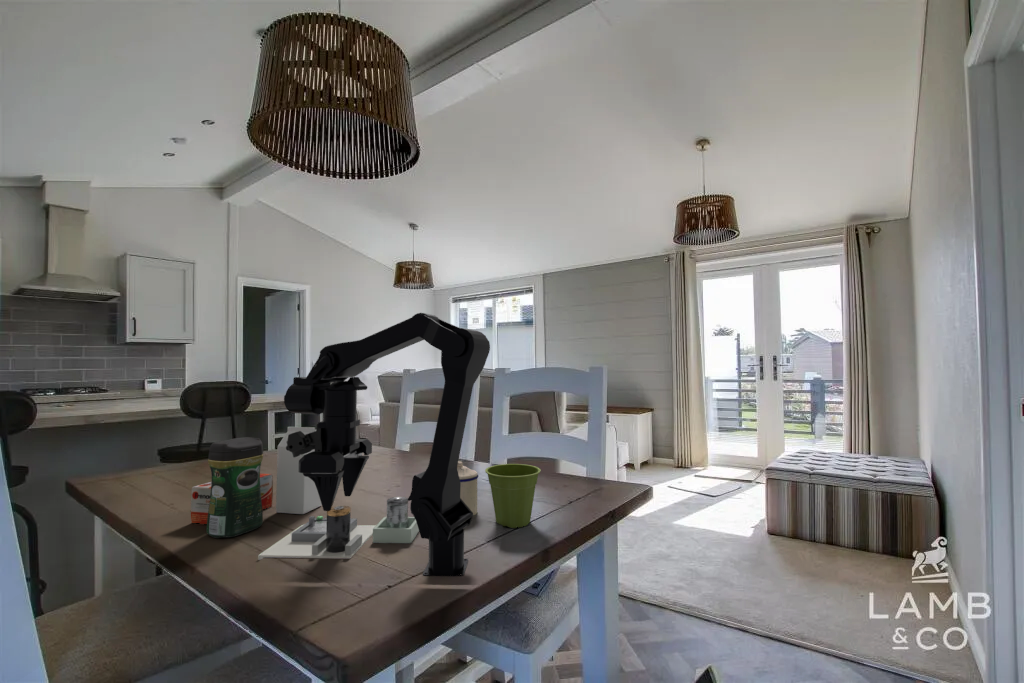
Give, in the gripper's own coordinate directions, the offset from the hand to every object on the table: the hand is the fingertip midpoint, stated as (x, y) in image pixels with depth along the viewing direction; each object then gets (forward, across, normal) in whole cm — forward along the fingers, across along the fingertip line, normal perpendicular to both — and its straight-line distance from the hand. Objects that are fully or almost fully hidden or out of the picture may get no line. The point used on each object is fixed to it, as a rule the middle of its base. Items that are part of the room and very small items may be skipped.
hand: (337, 503), depth 86 cm
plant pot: (+9, -17, +31) cm, 36 cm away
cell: (+8, 0, 0) cm, 8 cm away
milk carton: (+9, -25, -19) cm, 33 cm away
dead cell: (+8, -7, +9) cm, 14 cm away
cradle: (+7, -7, -5) cm, 12 cm away
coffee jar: (+9, -10, -25) cm, 29 cm away
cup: (+9, -7, +9) cm, 14 cm away
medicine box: (+9, -21, -32) cm, 40 cm away
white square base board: (+9, -4, -4) cm, 11 cm away
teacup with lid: (+9, -23, +17) cm, 30 cm away
